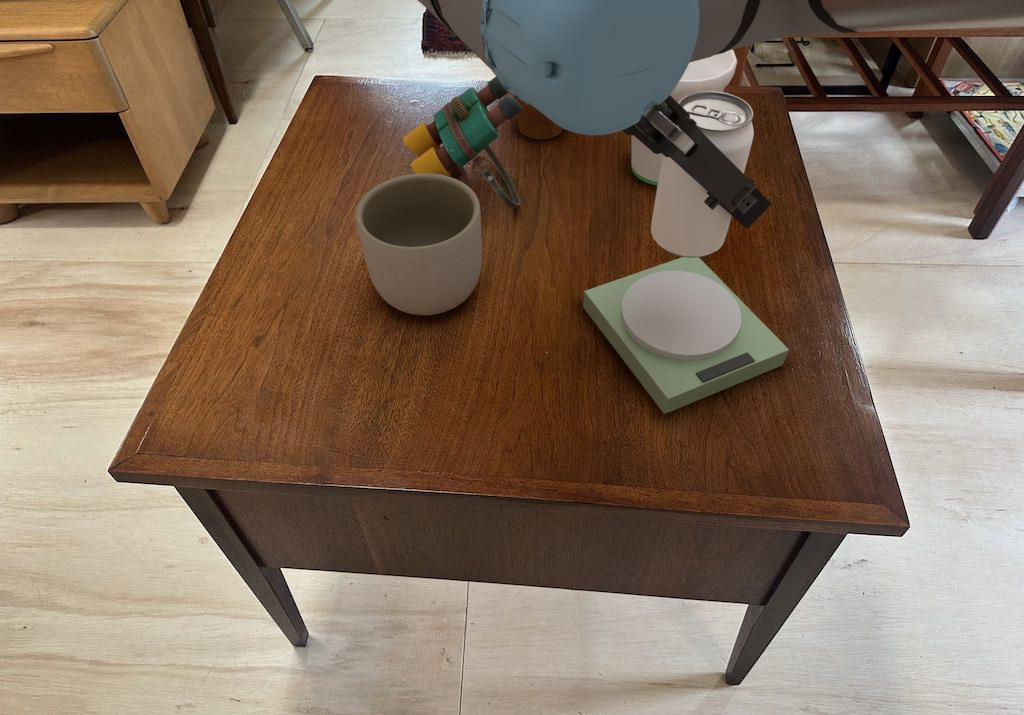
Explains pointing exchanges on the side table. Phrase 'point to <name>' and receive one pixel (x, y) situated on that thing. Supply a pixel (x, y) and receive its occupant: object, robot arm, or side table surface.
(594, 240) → the side table surface
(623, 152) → the side table surface
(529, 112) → the disposable coffee cup
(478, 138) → the binoculars
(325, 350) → the side table surface
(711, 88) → the cup
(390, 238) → the planter
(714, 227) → the can
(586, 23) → the robot arm
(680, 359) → the scale
